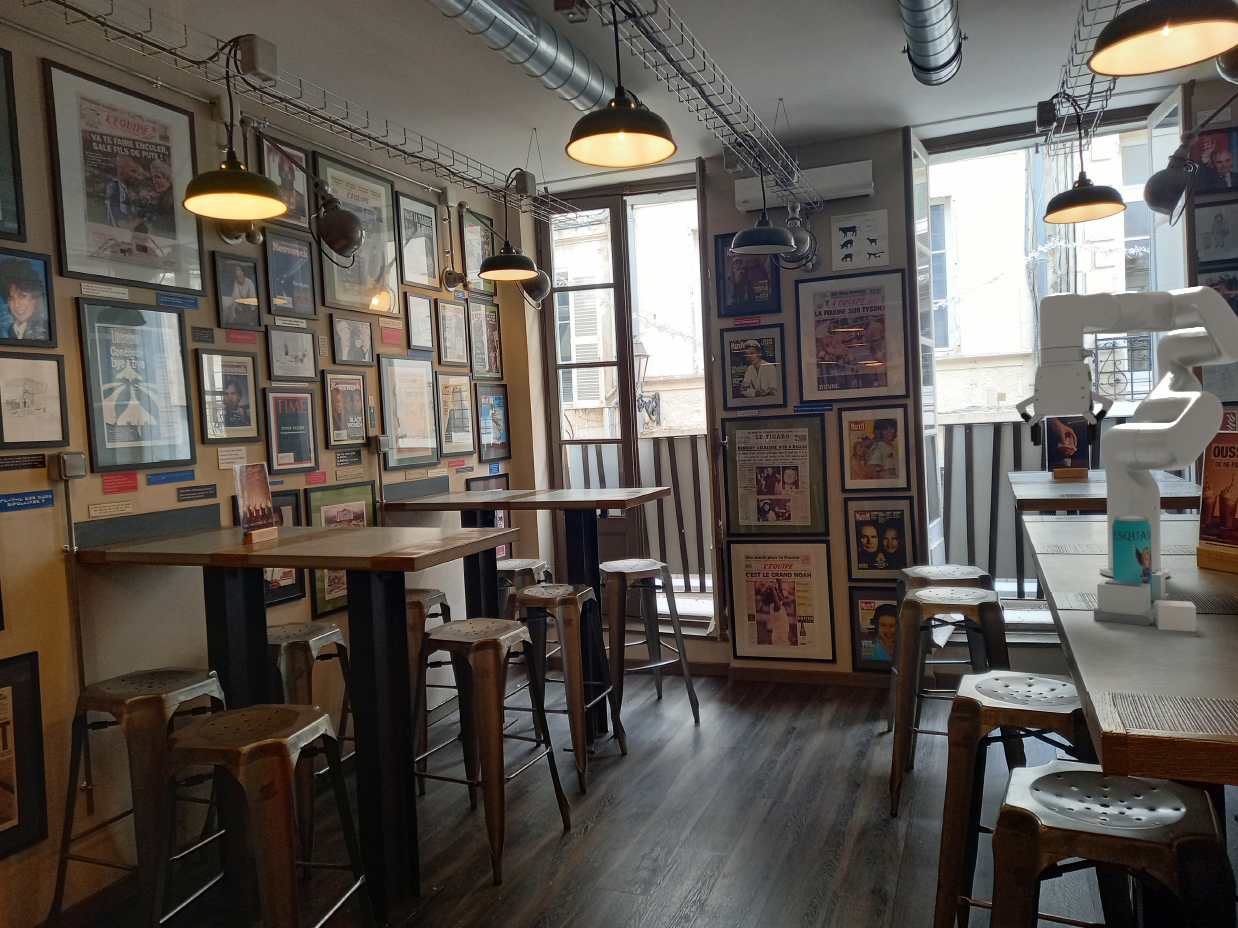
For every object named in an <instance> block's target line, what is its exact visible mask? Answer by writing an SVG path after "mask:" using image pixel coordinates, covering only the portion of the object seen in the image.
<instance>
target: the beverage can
mask: <svg viewBox="0 0 1238 928" xmlns="http://www.w3.org/2000/svg"><path fill="white" fill-rule="evenodd" d="M1114 519H1115V520H1114V522H1113V525H1112V544H1113V577H1112V580H1116V581H1129V582H1141V583H1143V584H1150V597H1151V596H1152V565H1151V525H1150V524H1149V521H1148V519H1149V518H1148V517H1147V516H1137V515H1122V516H1115V517H1114Z"/></svg>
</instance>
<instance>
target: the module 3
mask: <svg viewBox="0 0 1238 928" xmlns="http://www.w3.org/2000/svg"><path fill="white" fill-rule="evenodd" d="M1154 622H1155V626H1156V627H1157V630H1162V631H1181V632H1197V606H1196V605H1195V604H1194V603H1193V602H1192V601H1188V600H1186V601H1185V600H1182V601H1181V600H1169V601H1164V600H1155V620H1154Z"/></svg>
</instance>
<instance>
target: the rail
mask: <svg viewBox="0 0 1238 928" xmlns="http://www.w3.org/2000/svg"><path fill="white" fill-rule="evenodd" d="M1157 600H1164V601H1170V593H1168V592H1167V593H1166V592H1165V595H1164V596H1162V597H1161V598H1158V599H1157ZM1093 621H1103V622H1111V623H1120V624H1131V625H1138V626H1147V627H1148V626H1150V625H1151V624H1152V623H1154V622H1155V600H1151V608H1150V609H1149V610H1148V611H1147V612H1146V613H1143V615H1134V614H1124V613H1114V612H1105V611H1100V608H1098V604H1097V605H1096V606H1094V607H1093Z"/></svg>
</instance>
